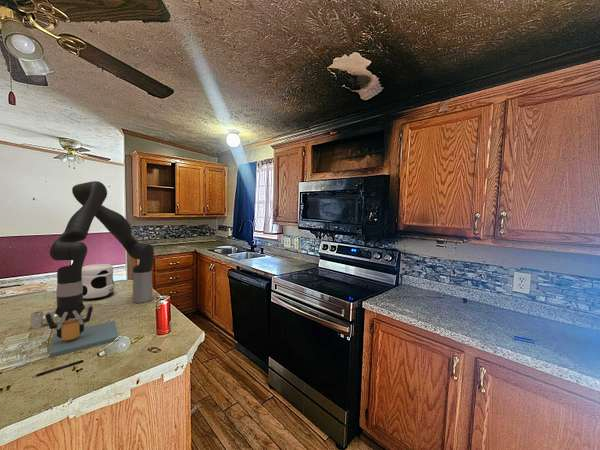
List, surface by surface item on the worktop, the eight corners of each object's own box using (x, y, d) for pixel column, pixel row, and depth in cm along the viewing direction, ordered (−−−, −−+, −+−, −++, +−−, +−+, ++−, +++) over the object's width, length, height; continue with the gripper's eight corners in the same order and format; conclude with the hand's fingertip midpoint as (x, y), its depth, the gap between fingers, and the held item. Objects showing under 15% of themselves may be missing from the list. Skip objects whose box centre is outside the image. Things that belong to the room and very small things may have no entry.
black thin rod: (32, 379, 79) (32, 376, 79) (32, 377, 79) (32, 374, 79) (83, 363, 88) (83, 360, 87) (83, 361, 88) (83, 359, 88)
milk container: (76, 295, 149) (76, 265, 148) (112, 289, 161) (112, 262, 160) (77, 304, 137) (77, 271, 136) (116, 297, 148) (116, 267, 147)
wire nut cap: (79, 332, 102) (79, 318, 102) (79, 337, 98) (79, 322, 98) (62, 336, 99) (62, 321, 99) (61, 341, 95) (61, 326, 95)
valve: (29, 331, 107) (68, 323, 115) (29, 316, 106) (67, 309, 114) (31, 325, 112) (68, 318, 120) (31, 311, 111) (67, 305, 119)
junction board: (114, 323, 116) (114, 320, 116) (118, 340, 102) (118, 336, 102) (54, 337, 103) (53, 333, 103) (49, 357, 89) (49, 353, 89)
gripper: (93, 287, 105) (94, 326, 106) (45, 293, 96) (46, 336, 97) (94, 292, 99) (94, 333, 100) (42, 299, 90) (43, 345, 91)
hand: (70, 334), depth 99 cm, fingers closed on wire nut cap, 5 cm apart
